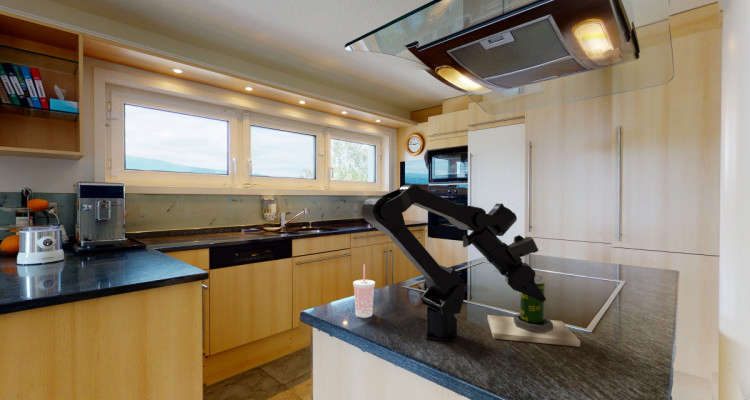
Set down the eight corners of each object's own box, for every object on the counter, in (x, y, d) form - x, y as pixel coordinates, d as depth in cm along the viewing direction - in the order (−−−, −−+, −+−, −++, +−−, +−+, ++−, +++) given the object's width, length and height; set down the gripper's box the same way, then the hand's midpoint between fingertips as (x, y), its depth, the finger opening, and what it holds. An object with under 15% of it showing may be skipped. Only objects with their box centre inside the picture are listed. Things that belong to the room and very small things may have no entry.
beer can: (536, 321, 83) (536, 274, 83) (549, 329, 78) (549, 279, 78) (515, 321, 82) (516, 274, 82) (527, 330, 77) (528, 279, 77)
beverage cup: (379, 313, 91) (379, 263, 91) (365, 320, 86) (366, 267, 86) (362, 309, 95) (362, 261, 95) (348, 315, 90) (348, 264, 90)
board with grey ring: (493, 338, 75) (493, 326, 75) (487, 319, 87) (487, 309, 87) (580, 346, 72) (580, 334, 72) (561, 325, 83) (561, 315, 83)
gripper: (525, 229, 72) (580, 282, 69) (509, 223, 90) (552, 265, 88) (487, 263, 73) (539, 316, 71) (479, 250, 92) (521, 292, 89)
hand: (539, 294), depth 80 cm, fingers open, 9 cm apart
